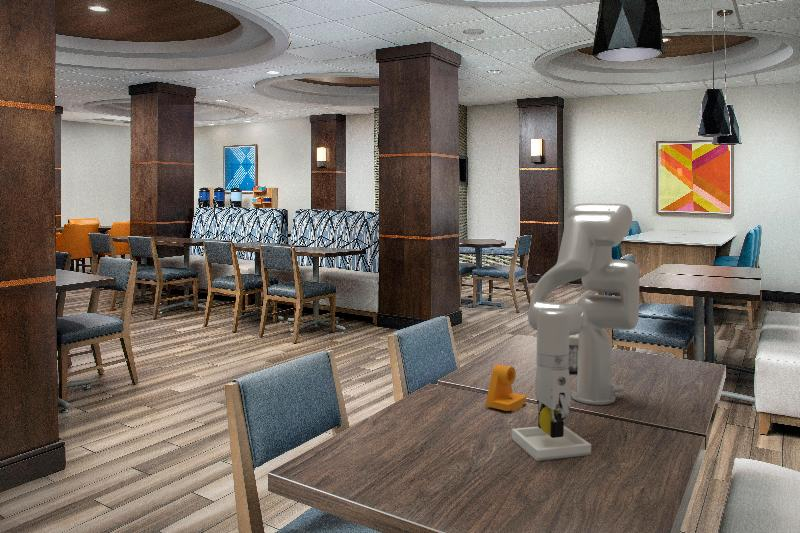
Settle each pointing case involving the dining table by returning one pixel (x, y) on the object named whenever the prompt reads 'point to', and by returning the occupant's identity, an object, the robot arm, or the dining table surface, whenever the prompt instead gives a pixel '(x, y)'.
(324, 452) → the dining table surface
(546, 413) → the lemon
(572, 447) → the tray
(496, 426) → the dining table surface
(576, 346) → the planter
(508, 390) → the bracket
